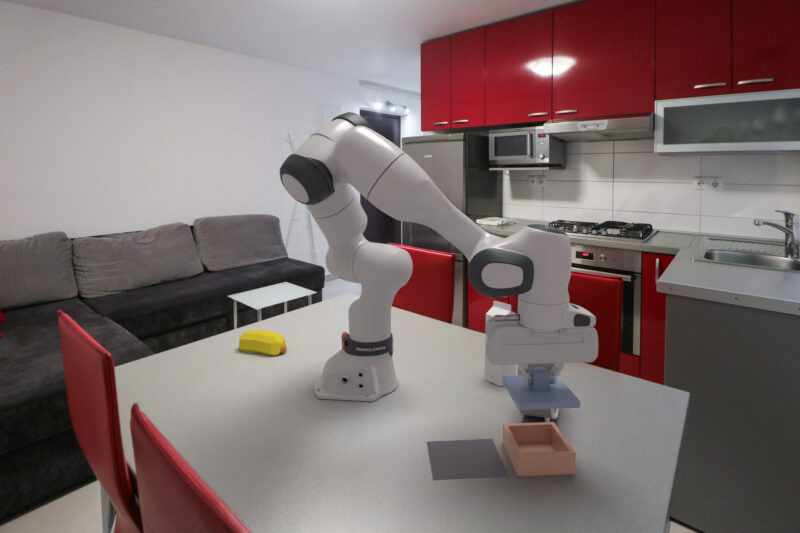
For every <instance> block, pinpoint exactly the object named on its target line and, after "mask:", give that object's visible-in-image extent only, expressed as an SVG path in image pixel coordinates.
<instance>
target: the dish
mask: <svg viewBox="0 0 800 533" xmlns="http://www.w3.org/2000/svg"><path fill="white" fill-rule="evenodd" d="M502 426H503V427H502V446H503V448H504V450H505V452H506V454H507V457H508V459H509V461H510V462H511V465H512V467H513V469H514V471H515V474H516V477H517V478H532V477H555V476H574V475H575V471H576V469H575V468H576V458H577V457H576V455H577V454H576V451H575V450H574V449H573V447H572V446H571V444H570V443H569V442H568V440H567V439H566V437H565V436H564V435H563V433H562V432H561V430H560V429H559V428H558V426H557V424H556V423H555V421H550V422H545V421H543V422H522V423H520V422H519V423H502Z"/></svg>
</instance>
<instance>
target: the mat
mask: <svg viewBox="0 0 800 533" xmlns="http://www.w3.org/2000/svg"><path fill="white" fill-rule="evenodd" d="M426 446H427V452H428V456H429V463H430V464H429V465H430V470H431V475H432V480H433V481H442V480H443V481H444V480H462V479H463V480H467V479H486V478H487V479H488V478H508V477H509V474H508V472H507V470H506V467H505V465H504V462H503V461H502V460H503V459H502V458H501V455H500V453H499V451H498V448H497V446H496V444H495V442H494V439H493V438H482V439H480V438H479V439H478V438H477V439H476V438H475V439H456V440H434V441H432V440H431V441H426Z"/></svg>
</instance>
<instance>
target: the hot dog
mask: <svg viewBox="0 0 800 533" xmlns="http://www.w3.org/2000/svg"><path fill="white" fill-rule="evenodd" d="M238 349H239V350H240V351H242V352H244V351H245V352H246V353H257V354H263V355H266V354H267V355H266V356H271V355H272V357H276V356H278V355H279V354H283V353H286V351H287V349H288V348H287V344H286V340H285V337H284V335H283V334H281V333H279V332H275V331H269V330H265V329H249V330H247V331H246V332H242V334H241V335H240V336H239V342H238Z"/></svg>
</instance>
